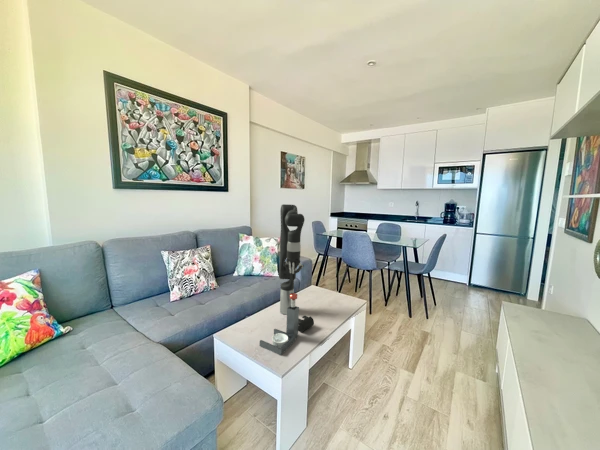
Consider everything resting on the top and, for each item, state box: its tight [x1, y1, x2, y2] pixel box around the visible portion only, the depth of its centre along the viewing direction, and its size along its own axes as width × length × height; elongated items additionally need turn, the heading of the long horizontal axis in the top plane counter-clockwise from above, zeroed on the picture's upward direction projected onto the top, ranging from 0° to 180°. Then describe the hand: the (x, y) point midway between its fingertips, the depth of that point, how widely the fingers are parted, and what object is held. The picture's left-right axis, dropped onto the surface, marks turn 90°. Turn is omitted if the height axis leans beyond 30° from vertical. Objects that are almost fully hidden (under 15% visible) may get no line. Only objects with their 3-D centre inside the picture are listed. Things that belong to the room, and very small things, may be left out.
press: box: [259, 305, 300, 356], centre depth 136 cm, size 19×14×18 cm
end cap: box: [298, 315, 315, 333], centre depth 150 cm, size 10×7×7 cm
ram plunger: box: [290, 292, 298, 310], centre depth 139 cm, size 4×4×11 cm
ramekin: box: [271, 333, 288, 348], centre depth 134 cm, size 9×9×4 cm
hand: (292, 279), depth 137 cm, fingers closed
